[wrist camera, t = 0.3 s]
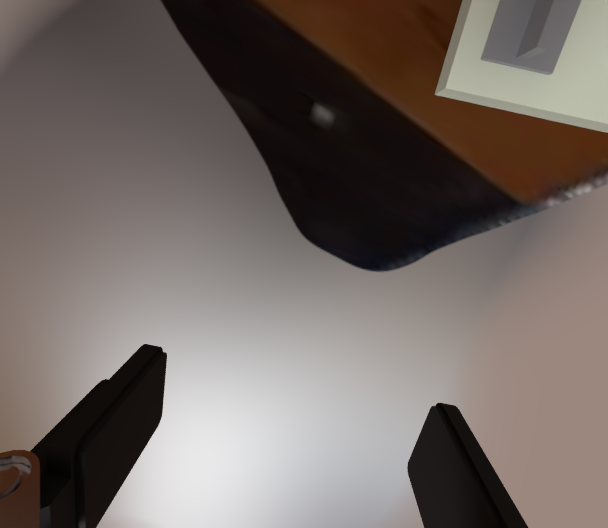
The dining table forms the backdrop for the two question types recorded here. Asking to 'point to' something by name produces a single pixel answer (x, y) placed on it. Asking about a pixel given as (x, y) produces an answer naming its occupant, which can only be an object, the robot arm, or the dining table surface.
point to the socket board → (526, 84)
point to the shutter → (530, 33)
